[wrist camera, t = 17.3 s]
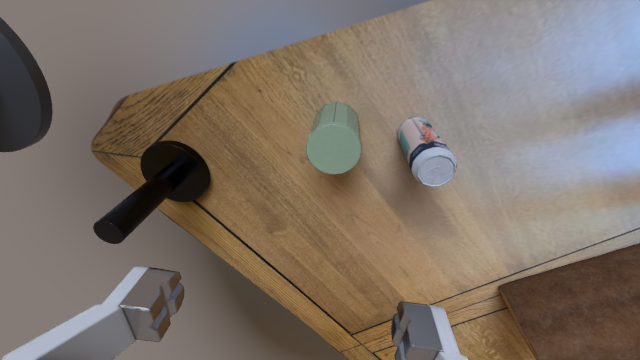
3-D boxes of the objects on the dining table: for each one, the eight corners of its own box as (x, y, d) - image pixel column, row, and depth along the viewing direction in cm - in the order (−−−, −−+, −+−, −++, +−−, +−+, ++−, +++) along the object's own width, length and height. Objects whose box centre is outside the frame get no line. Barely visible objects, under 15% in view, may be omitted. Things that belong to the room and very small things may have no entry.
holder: (135, 169, 48) (49, 230, 34) (164, 126, 43) (78, 176, 29) (190, 207, 51) (132, 277, 37) (222, 171, 46) (169, 235, 33)
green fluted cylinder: (305, 123, 41) (295, 150, 33) (336, 92, 38) (333, 112, 30) (336, 152, 43) (333, 183, 35) (367, 124, 40) (372, 151, 32)
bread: (494, 283, 54) (538, 360, 42) (726, 213, 42) (881, 292, 30) (515, 322, 59) (558, 401, 47) (726, 270, 48) (857, 357, 35)
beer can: (437, 135, 40) (467, 175, 30) (407, 153, 42) (427, 197, 32) (420, 109, 38) (447, 142, 28) (390, 129, 40) (405, 166, 30)
